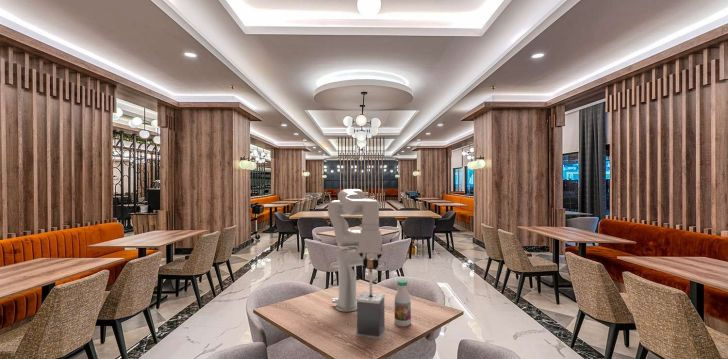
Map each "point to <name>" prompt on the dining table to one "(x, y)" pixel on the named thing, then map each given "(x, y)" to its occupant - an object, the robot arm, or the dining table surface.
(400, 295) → the milk bottle
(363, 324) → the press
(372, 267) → the plunger
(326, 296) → the dining table surface
